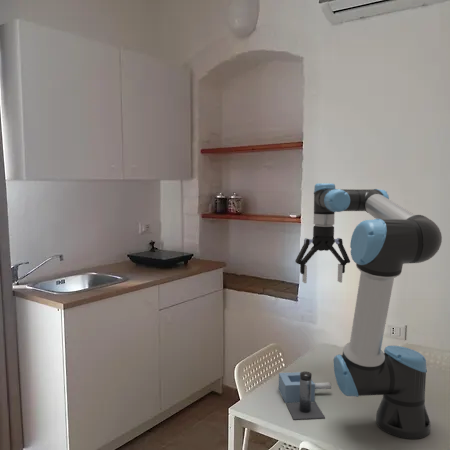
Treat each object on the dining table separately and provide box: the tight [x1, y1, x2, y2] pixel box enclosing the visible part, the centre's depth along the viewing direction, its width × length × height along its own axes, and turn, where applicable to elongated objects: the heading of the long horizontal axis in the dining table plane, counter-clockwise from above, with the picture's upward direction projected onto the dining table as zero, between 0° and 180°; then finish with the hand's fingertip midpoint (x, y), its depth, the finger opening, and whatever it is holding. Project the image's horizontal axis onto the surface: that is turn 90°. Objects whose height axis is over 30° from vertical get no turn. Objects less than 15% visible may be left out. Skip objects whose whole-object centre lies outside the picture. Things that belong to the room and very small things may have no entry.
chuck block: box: [278, 371, 332, 404], centre depth 155 cm, size 10×17×6 cm, turn 96°
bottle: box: [298, 371, 313, 413], centre depth 143 cm, size 4×4×12 cm
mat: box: [285, 401, 326, 421], centre depth 144 cm, size 10×10×1 cm
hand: (322, 282), depth 167 cm, fingers open, 13 cm apart
